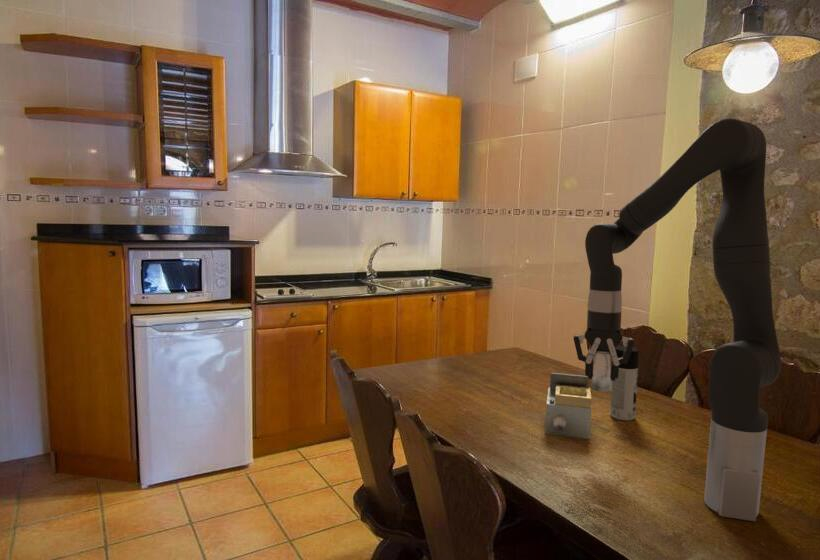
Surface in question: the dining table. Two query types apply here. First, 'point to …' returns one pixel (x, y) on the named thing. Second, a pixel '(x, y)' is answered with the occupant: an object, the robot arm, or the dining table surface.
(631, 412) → the spray can
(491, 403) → the dining table surface
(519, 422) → the dining table surface
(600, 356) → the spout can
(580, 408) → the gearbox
